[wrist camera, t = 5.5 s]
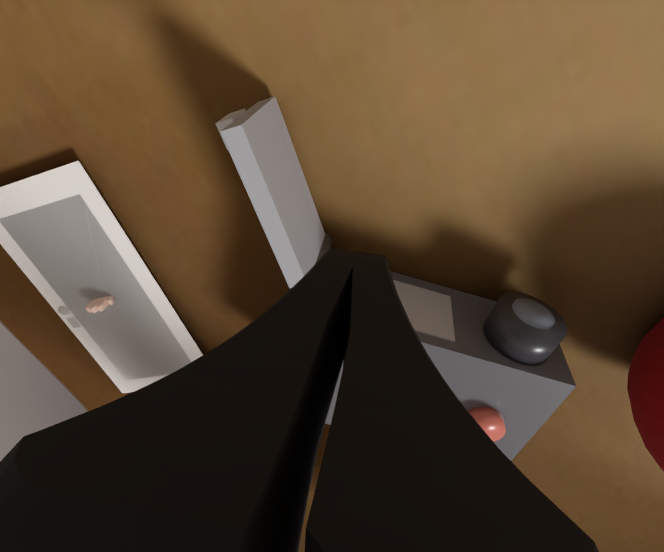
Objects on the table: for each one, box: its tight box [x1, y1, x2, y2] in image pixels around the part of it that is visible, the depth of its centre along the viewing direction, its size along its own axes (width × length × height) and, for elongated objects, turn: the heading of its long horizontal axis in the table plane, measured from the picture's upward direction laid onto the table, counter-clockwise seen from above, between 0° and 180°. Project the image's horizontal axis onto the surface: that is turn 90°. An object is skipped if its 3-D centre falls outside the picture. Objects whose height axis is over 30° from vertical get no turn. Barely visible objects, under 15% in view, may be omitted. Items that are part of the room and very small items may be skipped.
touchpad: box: [0, 160, 203, 393], centre depth 25 cm, size 8×15×2 cm, turn 19°
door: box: [215, 96, 332, 288], centre depth 18 cm, size 8×2×5 cm, turn 18°
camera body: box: [325, 271, 576, 461], centre depth 21 cm, size 9×12×5 cm
